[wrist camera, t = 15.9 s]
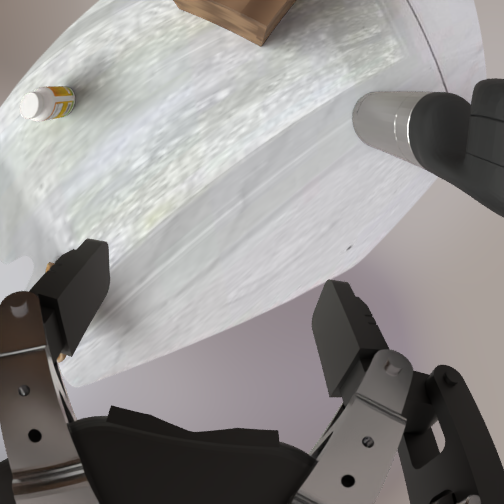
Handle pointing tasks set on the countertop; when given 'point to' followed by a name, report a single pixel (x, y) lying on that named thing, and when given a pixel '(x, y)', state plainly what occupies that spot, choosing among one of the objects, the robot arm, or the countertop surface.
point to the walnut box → (240, 15)
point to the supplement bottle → (47, 103)
